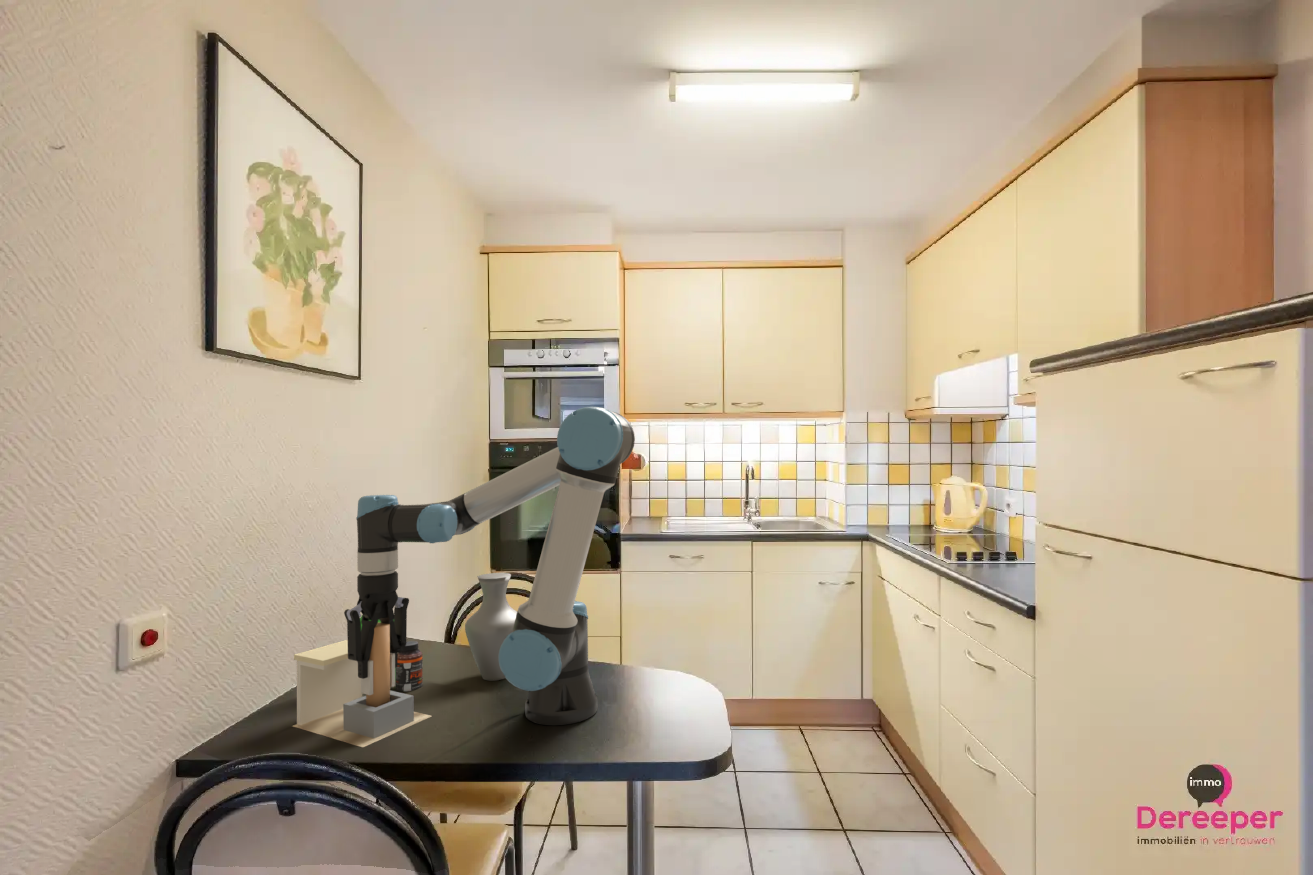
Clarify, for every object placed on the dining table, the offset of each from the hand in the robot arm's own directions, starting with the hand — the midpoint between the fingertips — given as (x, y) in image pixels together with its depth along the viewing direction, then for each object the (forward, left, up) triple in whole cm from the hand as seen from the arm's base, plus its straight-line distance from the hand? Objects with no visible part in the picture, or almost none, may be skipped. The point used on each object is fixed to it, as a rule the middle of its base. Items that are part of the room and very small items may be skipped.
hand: (378, 689), depth 127 cm
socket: (0, 0, -7) cm, 7 cm away
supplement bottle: (+13, -18, -9) cm, 24 cm away
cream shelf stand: (+11, 0, -7) cm, 13 cm away
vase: (+2, -35, -8) cm, 36 cm away
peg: (0, 0, -3) cm, 3 cm away
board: (+5, 0, -8) cm, 10 cm away
